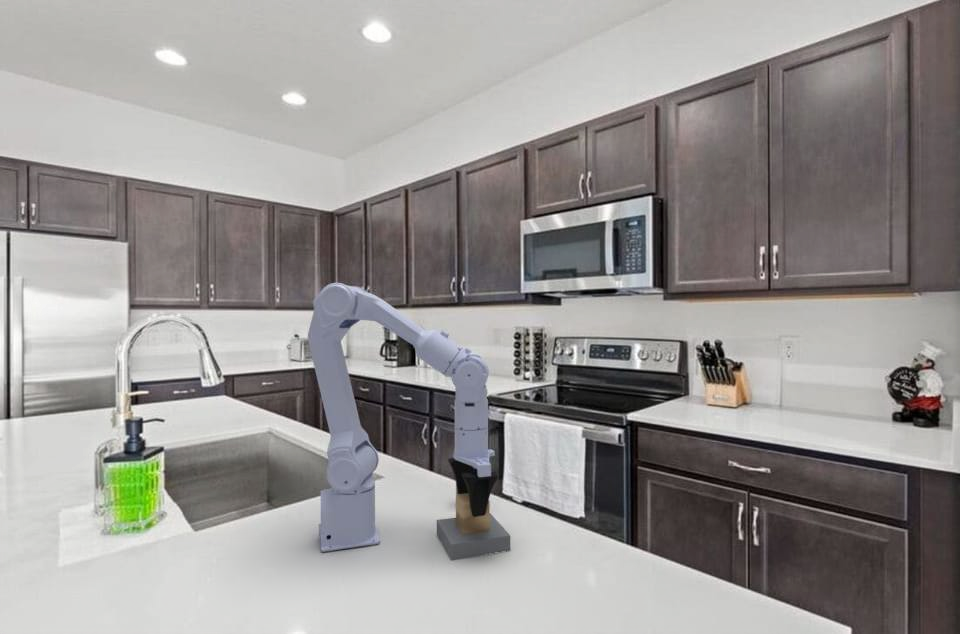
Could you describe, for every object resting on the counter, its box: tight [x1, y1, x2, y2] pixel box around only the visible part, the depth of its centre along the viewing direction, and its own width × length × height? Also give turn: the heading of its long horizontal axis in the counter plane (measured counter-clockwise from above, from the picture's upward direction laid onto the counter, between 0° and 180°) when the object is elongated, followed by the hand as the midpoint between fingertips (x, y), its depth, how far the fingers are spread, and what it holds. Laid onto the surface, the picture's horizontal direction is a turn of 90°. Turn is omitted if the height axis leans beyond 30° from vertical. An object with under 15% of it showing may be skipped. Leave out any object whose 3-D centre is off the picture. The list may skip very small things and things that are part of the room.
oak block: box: [455, 493, 491, 535], centre depth 83 cm, size 5×5×5 cm
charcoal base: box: [436, 512, 511, 561], centre depth 83 cm, size 10×10×3 cm
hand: (471, 506), depth 83 cm, fingers open, 7 cm apart
